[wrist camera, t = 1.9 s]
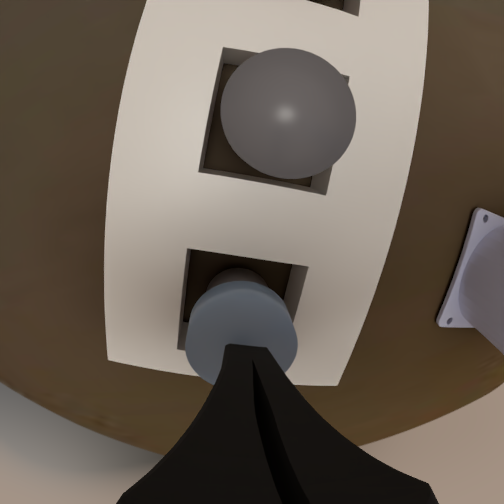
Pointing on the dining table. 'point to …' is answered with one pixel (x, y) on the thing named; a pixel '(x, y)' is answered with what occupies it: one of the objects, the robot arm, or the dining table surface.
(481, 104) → the dining table surface
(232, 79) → the charcoal button
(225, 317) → the slate blue button
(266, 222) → the button panel
